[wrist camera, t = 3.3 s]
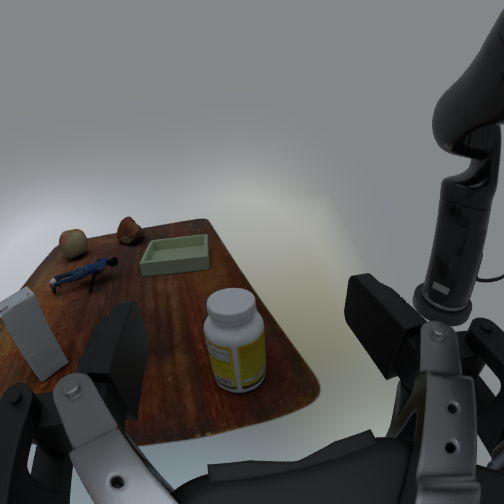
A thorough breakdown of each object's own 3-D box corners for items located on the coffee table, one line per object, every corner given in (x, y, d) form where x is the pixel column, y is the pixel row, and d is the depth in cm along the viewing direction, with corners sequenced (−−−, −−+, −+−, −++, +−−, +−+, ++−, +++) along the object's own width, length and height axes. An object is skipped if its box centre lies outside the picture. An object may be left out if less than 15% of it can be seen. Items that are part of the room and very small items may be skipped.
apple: (60, 259, 65) (53, 234, 62) (83, 248, 72) (77, 224, 69) (70, 265, 61) (62, 237, 58) (95, 253, 68) (89, 226, 65)
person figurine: (52, 309, 45) (121, 284, 50) (42, 291, 43) (113, 264, 48) (62, 285, 54) (124, 262, 59) (55, 269, 52) (117, 245, 57)
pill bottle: (263, 355, 33) (260, 281, 29) (268, 392, 28) (266, 316, 23) (215, 358, 33) (202, 285, 29) (213, 395, 27) (195, 320, 23)
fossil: (118, 224, 80) (125, 200, 75) (142, 231, 84) (150, 207, 79) (112, 252, 71) (118, 226, 66) (138, 258, 75) (147, 233, 70)
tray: (208, 245, 69) (207, 233, 68) (209, 269, 57) (207, 256, 55) (152, 251, 67) (150, 240, 66) (142, 276, 55) (139, 263, 53)
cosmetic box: (59, 351, 32) (27, 283, 27) (70, 364, 30) (36, 292, 25) (31, 370, 27) (-5, 302, 22) (41, 385, 25) (-1, 314, 20)
